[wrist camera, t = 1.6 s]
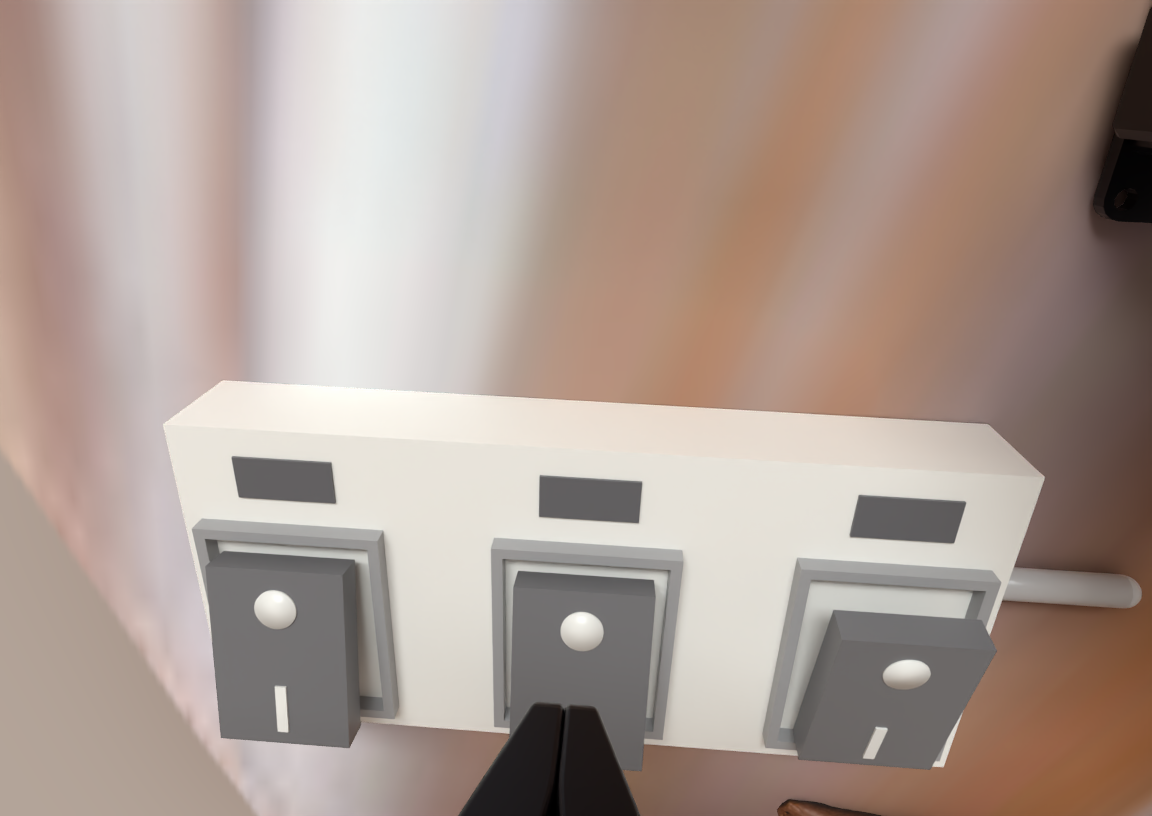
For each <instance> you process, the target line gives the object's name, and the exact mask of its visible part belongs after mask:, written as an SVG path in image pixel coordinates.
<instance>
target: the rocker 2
mask: <svg viewBox="0 0 1152 816" xmlns="http://www.w3.org/2000/svg"><path fill="white" fill-rule="evenodd" d="M996 652H997V650H996V648H995V646H994V644H993V642H992V640H991V638H990V636H989V634H988V632H987V630H986V628H985V626H984V624H983V621H982V620H975V619H961V618H946V617H932V616H917V615H903V614H888V613H874V612H859V611H845V610H833V613H832V616H831V618H830V621H829V624H828V627H827V630H826V633H825V636H824V639H823V642H822V645H821V648H820V651H819V654H818V657H817V660H816V663H815V666H814V668H813V671H812V674H811V677H810V680H809V683H808V686H807V689H806V692H805V695H804V698H803V701H802V704H801V707H800V710H799V713H798V716H797V718H796V721H795V724H794V727H793V733H794V738H795V743H796V748H797V754H798V759H799V760H812V761H825V762H837V763H850V764H863V765H876V766H889V767H902V768H914V769H927V770H930V769H931V767H932V766H933V764H934V762H935V760H936V758H937V757H938V755H939V753H940V751H941V750H942V748H943V746H944V744H945V742H946V741H947V739H948V737H949V735H950V734H951V732H952V730H953V728H954V726H955V725H956V723H957V721H958V719H959V717H960V716H961V714H962V712H963V710H964V709H965V707H966V705H967V703H968V701H969V700H970V698H971V696H972V694H973V693H974V691H975V689H976V687H977V685H978V684H979V682H980V680H981V678H982V677H983V675H984V673H985V671H986V669H987V668H988V666H989V664H990V662H991V660H992V659H993V657H994V655H995V653H996Z"/></svg>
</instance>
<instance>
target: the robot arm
mask: <svg viewBox="0 0 1152 816" xmlns="http://www.w3.org/2000/svg"><path fill="white" fill-rule="evenodd" d="M1113 128H1114V131H1115V134H1114V137H1113V140H1112V143H1111V146H1110V150H1109V153H1108V156H1107V159H1106V162H1105V165H1104V168H1103V171H1102V174H1101V177H1100V180H1099V184H1098V187H1097V190H1096V193H1095V196H1094V203H1093V205H1094V208H1095V211H1096V212H1097V213H1098V214H1099V215H1100V216H1101V217H1104V218H1108V219H1112V220H1115V221H1122V222H1144V223H1152V8H1151V9H1150V11H1149V13H1148V16H1147V20H1146V23H1145V26H1144V29H1143V32H1142V35H1141V38H1140V41H1139V44H1138V48H1137V51H1136V54H1135V57H1134V60H1133V63H1132V66H1131V69H1130V73H1129V76H1128V79H1127V82H1126V85H1125V88H1124V91H1123V94H1122V97H1121V101H1120V104H1119V107H1118V110H1117V113H1116V116H1115V119H1114V122H1113ZM1123 190H1126V191H1127V198H1126V200H1125V202H1124V203H1123V204H1122V205H1120V206H1119V207H1117V208H1116V207H1115V205H1114V204H1115V198H1116V197H1117V195H1118V194H1119V193H1120V192H1121V191H1123ZM458 816H640V814H639V811H638V809H637V806H636V803H635V801H634V798H633V796H632V793H631V791H630V788H629V786H628V783H627V781H626V778H625V776H624V773H623V771H622V768H621V766H620V763H619V761H618V758H617V756H616V753H615V751H614V748H613V746H612V743H611V741H610V738H609V736H608V733H607V730H606V728H605V725H604V723H603V720H602V718H601V715H600V713H599V711H598V709H597V708H596V707H595V706H591V705H578V704H569V705H567V706H566V708H565V710H564V706H563V705H562V704H560V703H552V702H539V701H538V702H534V703H533V704H532V705H531V706H530V707H529V709H528V710H527V712H526V713H525V715H524V716H523V718H522V719H521V721H520V722H519V724H518V725H517V727H516V728H515V730H514V731H513V733H512V735H511V736H510V738H509V739H508V741H507V742H506V744H505V745H504V747H503V748H502V750H501V751H500V753H499V754H498V756H497V757H496V759H495V760H494V762H493V763H492V765H491V767H490V768H489V770H488V771H487V773H486V774H485V776H484V777H483V779H482V780H481V782H480V783H479V785H478V786H477V788H476V789H475V791H474V792H473V794H472V795H471V797H470V799H469V800H468V802H467V803H466V805H465V806H464V808H463V809H462V811H461V812H460V814H459V815H458Z"/></svg>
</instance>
